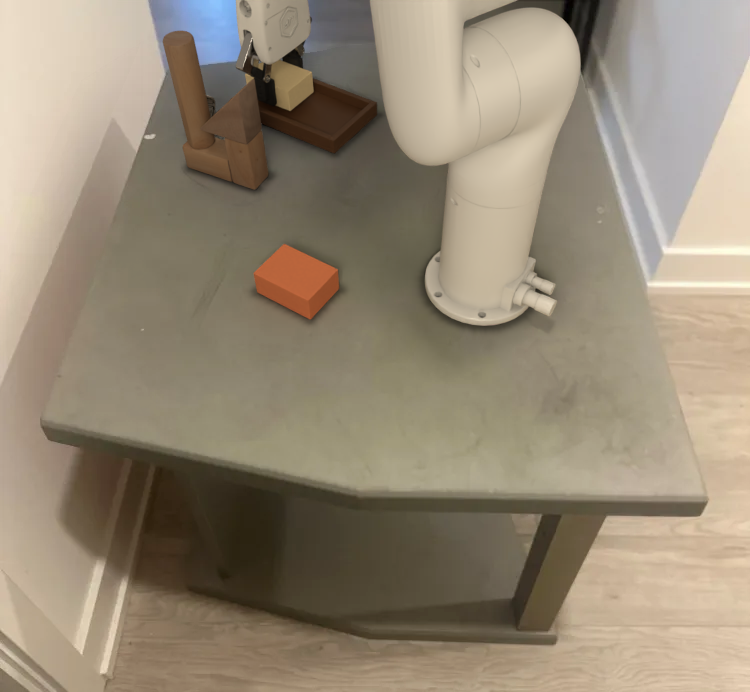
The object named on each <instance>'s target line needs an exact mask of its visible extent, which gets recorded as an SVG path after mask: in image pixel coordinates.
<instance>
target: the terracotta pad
mask: <svg viewBox="0 0 750 692" xmlns="http://www.w3.org/2000/svg"><path fill="white" fill-rule="evenodd" d="M253 279H254V282H255V283H254V284H255V288H256V292H257V294H260V295H261V296H264V297H266V298H268V299H270V300H271V301H273V302H275V303H277V304H279V305H281V306H283V307H285V308H287V309H289V310H291V311H293V312H294V313H297V314H298V315H300V316H302V317H304V318H306V319H308V320H312V319H313V318H314V317H315V316H316V314H317V313H318V312H319V311H320V310H321V309H322V308H323V307H324V306H325V305H326V303H328V302H329V300H331V298H332V297H333V296H334V295H335V294H336V293H337V292H338V291H339V290H340V280H339V269H338V268H336V267H334V266H332V265H330V264H327V263H326V262H324V261H321V260H320V259H318V258H315V257H313V256H311V255H308V254H306V253H305V252H303V251H300V250H298V249H297V248H294V247H292V246H290V245H288V244H286V243H283V244H282V245H280V247H279V248H278V249H277V250H276V251H275V252H274V253H272V254H271V256H270V257H268V258H267V259H266V260H265V261H264V262H263V263H262V264H261V265H260V266H259V267H258V268H257V269H255V271H253Z"/></svg>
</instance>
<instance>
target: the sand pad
mask: <svg viewBox="0 0 750 692" xmlns="http://www.w3.org/2000/svg"><path fill="white" fill-rule="evenodd" d="M263 63H264V62H261V61H260V62H259V67H258V68H259V69H261V70H263ZM244 77H245V83H246V84H245V85H247V84H248V83H249V82H250V81H251V80H252V79H254V77H251V76H250V75H248V74H246V73H245V74H244ZM271 78H272V79H274V82H275V91H276V99H277V104H276V106H278V107H281V108H283V109H286V110H288V111H291V110H292V109H294V108H295V107H296V106H297V105H298V104H300V103H301V102H302V101H303V100H305V99H306V98H307V97H308V96H309V95H311V94H312V93H313V92H314V90H313V78H314V77H313V72H312V71H310V70H308V69H306V68H303V69H302V68H300V67H297V66H294V65H292V64H289V63H286V62H284V61H283V60H282V59H280V60H278V61H277V62H275V63H273V64H272V69H271Z"/></svg>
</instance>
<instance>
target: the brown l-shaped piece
mask: <svg viewBox="0 0 750 692" xmlns="http://www.w3.org/2000/svg"><path fill="white" fill-rule="evenodd" d="M195 41H196V40H195V37H194V36H193V34H192V33H191V32H190V31H187V30H173V31H170V32H168V33H166V34H165V35H164V36H163V38H162V45H163V49H164V53H165V58H166V61H167V65H168V69H169V73H170V77H171V78H170V79H171V81H172V85H173V90H174V93H175V97H176V102H177V106H178V109H179V113H180V117H181V121H182V125H183V129H184V133H185V138H186V141H185V143H183V144H182V151H183V155H184V158H185V159H184V160H185V163H186V166H187V168H189V169H192V170H195V171H198V172H201V173H203V174H207V175H210V176H213V177H215V178H219V179H222V180H224V181H228V182H233V183H234V184H236V185H238V186H242V187H245V188H248V189H250V190H257V189H258V188H259V187H260V185H262V184H263V182H264V181H265V180H266V179H267V178H268V177H269V167H268V159H267V154H266V148H265V140H264V135H263V130H262V129H263V127H262V124H261V119H260V113H259V106H258V100H257V93H256V87H255V80H254V79H252V80H251V81H250V82H249V83H248V84H245V85H244V86H243V87H242V88H241V89H240V90H239V91H237V92H236V94H235V95H233V96H232V97H233V98H232V97H231V98H232V99H231V98H229V100H228V101H227V102H226V103H225V104H224V105H222V106H221V108H219V109H218V110H217V112H216V111H215V114H214V115H213V116H212V117H211V116H210V111H209V106H208V102H207V97H206V95H207V93H206V89H205V88H206V87H205V83H204V79H203V78H204V77H203V74H202V70H201V65H200V61H199V60H200V59H199V55H198V51H197V47H196V42H195ZM216 136H219V137H222V138H219V137H216ZM223 138H224V139H223Z"/></svg>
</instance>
